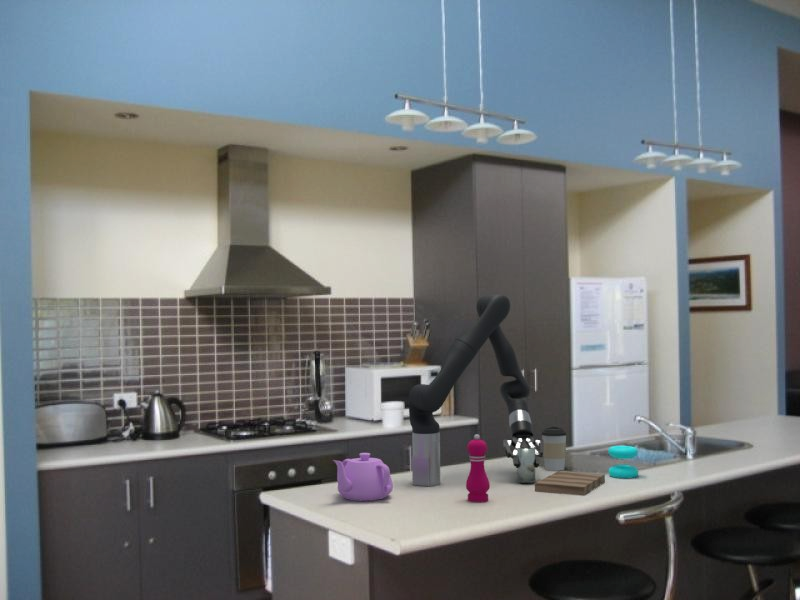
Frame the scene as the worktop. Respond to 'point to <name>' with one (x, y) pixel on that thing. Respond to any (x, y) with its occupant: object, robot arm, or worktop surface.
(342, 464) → the teapot
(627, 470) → the pair of cyan discs
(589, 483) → the board
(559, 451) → the coffee cup
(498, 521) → the worktop surface
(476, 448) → the pepper mill
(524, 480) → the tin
